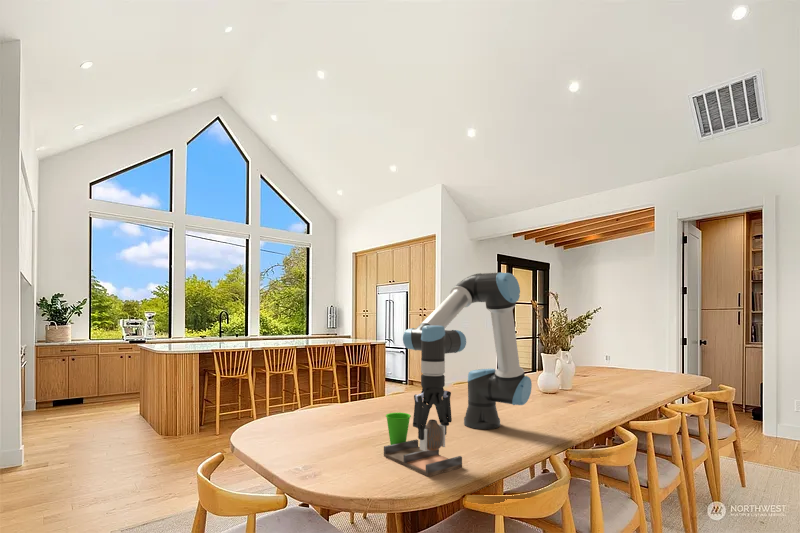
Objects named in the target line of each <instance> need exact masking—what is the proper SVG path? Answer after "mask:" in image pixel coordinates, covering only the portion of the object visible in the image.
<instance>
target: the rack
mask: <svg viewBox="0 0 800 533" xmlns="http://www.w3.org/2000/svg"><path fill="white" fill-rule="evenodd" d="M383 457H384V458H388V460H391V461H394V462H395V463H398V464H399V463H400V464H399V465H402V466H404V467H406V468H408V469H410V468H411V469H410V470H412V469H413V471H414V470H415V472H417V473H419V474H421V475H423V476H425V477H426V478H428V477H432V475H433V476H436V475H439V474H443V473H447V472H450V471H454V470H457V469H461V468H463V456H461V455H458V456H454V457H451V458H449V457H445V456H444V455H443V456H442V455H441V454H440V448H439V449H438V450H427V451H423V450H421V449H420V446H419V439H416V438H415V439H413V440H406V442H402V443H397V444H393V445H391V444H389V445H385V446H383Z"/></svg>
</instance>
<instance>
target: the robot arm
mask: <svg viewBox="0 0 800 533" xmlns="http://www.w3.org/2000/svg"><path fill="white" fill-rule="evenodd" d="M449 293H450V294H449V295H448V296H447V297H446V298H445V299H444V300H443V301H441V303H440V304H439V305H438V306H437V307H436V308H435V309H433V311H432V312H431V313H430V314H429V315H428V316H427V317H426V318H425V319H424V320H423V321H422V322H421V323H420V324H419V325H418V326H417V327H415V328H414V327H412V328H407V329H406V330H405V331H404V333H403V336H402V341H403V345H404V347H405V348H406V349H407V350H411V351H412V350H413V351H421V357H420V358H421V359H420V360H421V362H420V363H421V364H420V365H421V366H420V367H421V368H420V369H421V370H420V372H421V375H420V385H421V388H422V390H421V391H420V392H421V393H418V394H414V395H413V399H414V408H413V417H412V418H413V420H412V427H414V428H417V431H418V432H417V438H418V440H419V447H420V449H421V450H423V451H427V429H425V426H426V425H427V423H428V419H429V416H430V411H431V408H432V407H433V405H434V407H435V411H436V413H437V418H438V421H439V423H438V425H439V426H440V427H441V429H442V431H443V444H442V446H441V447H442V448H446V435H447V428H448V426H449V425H450V423H452V419H453V418H452V409H451V408H452V406H451V395H452V392H451V391H448V390H445V389H444V387H445V385H446V384H445V382H446V379H445V378H446V376H445V373H446V370H445V369H446V367H445V366H446V364H445V363H446V361H445V360H446V359H445V357H446V354H457V353H460V352H462V351H463V350H464V349H465V348H466V346H467V338H466V335H465V334H464V332H462V331H461V330H457V329H450V330H445V329H446V327H448V325H450V324H451V323H452V321H453V320H454V319H455V318H456V317H457V316H458V314H460V313H461V312H462V310H464V309H465V308H468V307H470V305H471V304H474V303H485V308H486V309H487V310H488V311H489V312H490V316H491V325H492V331H493V338H494V340H493V341H494V346H495V347H494V348H495V353H496V354H495V355H496V363H497V369H495V368H480V369H472V370H470V371H469V372H468V374H467V407H466V412H465V416H464V417H463V424H464V426H466V427H467V428H472V429H479V430H493V429H498V428H500V427H501V418H500V417H499V413H498V410H497V403H500V404H501V403H502V404H507V405H513V406H523V405H526V403H527V402H529V399H530V396H531V393H532V386H533V385H532V379H531V378H530V377H529V376H527V375H525V370H524V368H523V367H521V365H520V359H519V350H518V342H517V341H518V340H517V335H516V327H515V326H516V325H515V321H514V313H513V310H514V308H515V307H516V305H517V304H516V303H517V302H518V301H519V300H520V296H521V295H520V294H521V288H520V284H519V282H518V279H517V278H516V276H514V275H513V274H512V273H510V272H502V271H501V272H486V273H485V272H484V273H481V272H480V273H475V274H471V275H469V276H467V277H465V278H463V279H462V280H460V281H459V282H458V283H457V284H455V285H454V287H452V288H451V290H450V292H449Z"/></svg>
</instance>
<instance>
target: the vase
mask: <svg viewBox="0 0 800 533" xmlns="http://www.w3.org/2000/svg"><path fill="white" fill-rule="evenodd" d="M438 424H439V423H438V421H437V419H429V420H427V423H426V426H425V429H427V450H438V449H439V450H440V449H441V447H442V444H443V431H442V429H441V427H440V426H439V425H438Z"/></svg>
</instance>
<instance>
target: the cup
mask: <svg viewBox="0 0 800 533" xmlns="http://www.w3.org/2000/svg"><path fill="white" fill-rule="evenodd" d="M385 417H386V420H387V422H386V423H387V430H388V436H389V445H393V444H397V443H402V442H407V438H408V433H409V432H408V431H409V425H410V418H411V417H412V416H411V414H410V413H407V412H389V413H387V414H386V415H385Z"/></svg>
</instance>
